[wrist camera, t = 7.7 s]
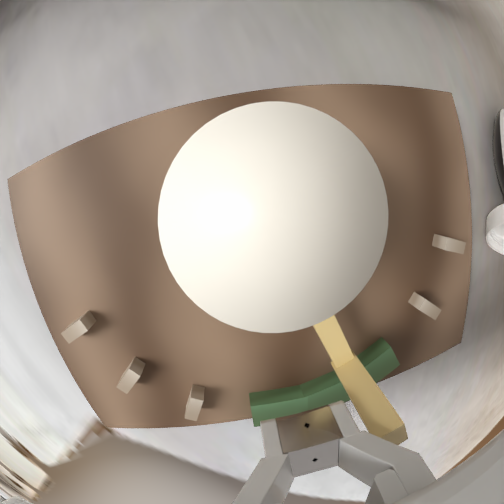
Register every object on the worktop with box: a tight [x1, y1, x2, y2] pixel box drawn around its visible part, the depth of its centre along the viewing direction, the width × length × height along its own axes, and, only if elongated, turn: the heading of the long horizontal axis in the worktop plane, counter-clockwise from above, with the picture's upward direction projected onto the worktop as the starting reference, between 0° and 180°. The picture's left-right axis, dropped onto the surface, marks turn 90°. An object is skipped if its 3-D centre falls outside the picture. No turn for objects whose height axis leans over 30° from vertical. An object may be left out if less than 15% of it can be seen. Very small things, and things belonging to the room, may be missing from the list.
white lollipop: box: [158, 101, 408, 445], centre depth 8 cm, size 10×5×6 cm, turn 30°
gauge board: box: [8, 84, 472, 428], centre depth 11 cm, size 23×15×3 cm, turn 101°
